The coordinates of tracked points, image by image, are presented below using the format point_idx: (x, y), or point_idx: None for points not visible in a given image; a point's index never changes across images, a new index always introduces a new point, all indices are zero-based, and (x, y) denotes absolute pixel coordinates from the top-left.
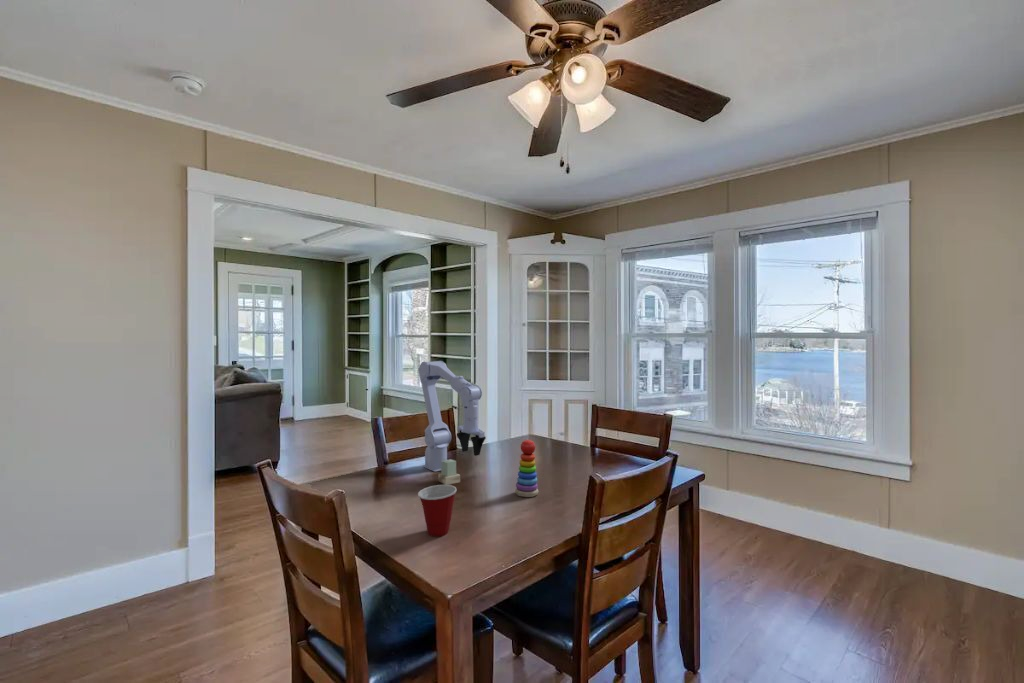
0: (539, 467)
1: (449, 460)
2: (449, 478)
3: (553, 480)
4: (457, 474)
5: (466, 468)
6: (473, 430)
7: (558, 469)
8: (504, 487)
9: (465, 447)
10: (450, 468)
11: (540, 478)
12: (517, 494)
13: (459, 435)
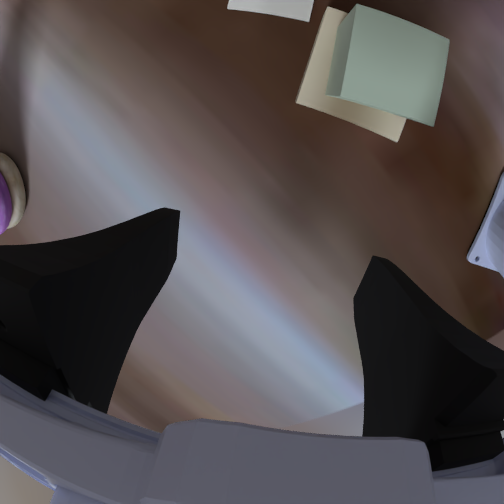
0: (174, 402)
1: (406, 83)
2: (319, 30)
3: None
4: (317, 98)
5: None
6: (57, 488)
7: (128, 400)
8: (77, 185)
9: (371, 302)
10: (342, 42)
11: None
12: (2, 153)
13: (481, 364)
